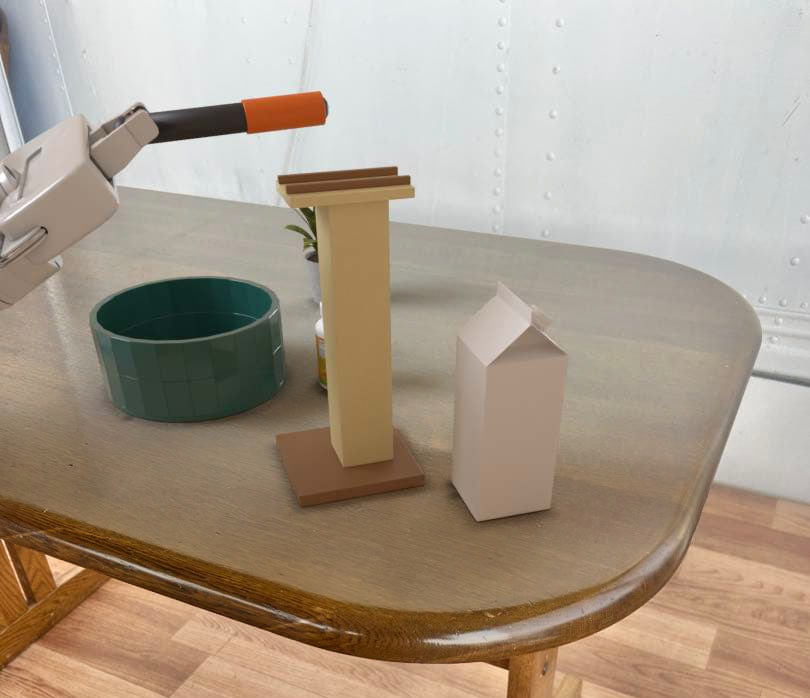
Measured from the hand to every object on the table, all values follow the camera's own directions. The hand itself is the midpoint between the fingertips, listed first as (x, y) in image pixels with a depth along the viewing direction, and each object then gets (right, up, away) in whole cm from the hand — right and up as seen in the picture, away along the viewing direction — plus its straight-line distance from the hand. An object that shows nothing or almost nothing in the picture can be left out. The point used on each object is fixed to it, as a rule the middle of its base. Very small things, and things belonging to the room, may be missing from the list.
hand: (150, 115), depth 58 cm
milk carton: (+27, -27, +17) cm, 42 cm away
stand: (+13, -23, +22) cm, 34 cm away
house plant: (+8, +3, +58) cm, 58 cm away
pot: (-6, -12, +37) cm, 39 cm away
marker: (+5, 0, +2) cm, 6 cm away
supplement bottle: (+11, -12, +36) cm, 40 cm away
